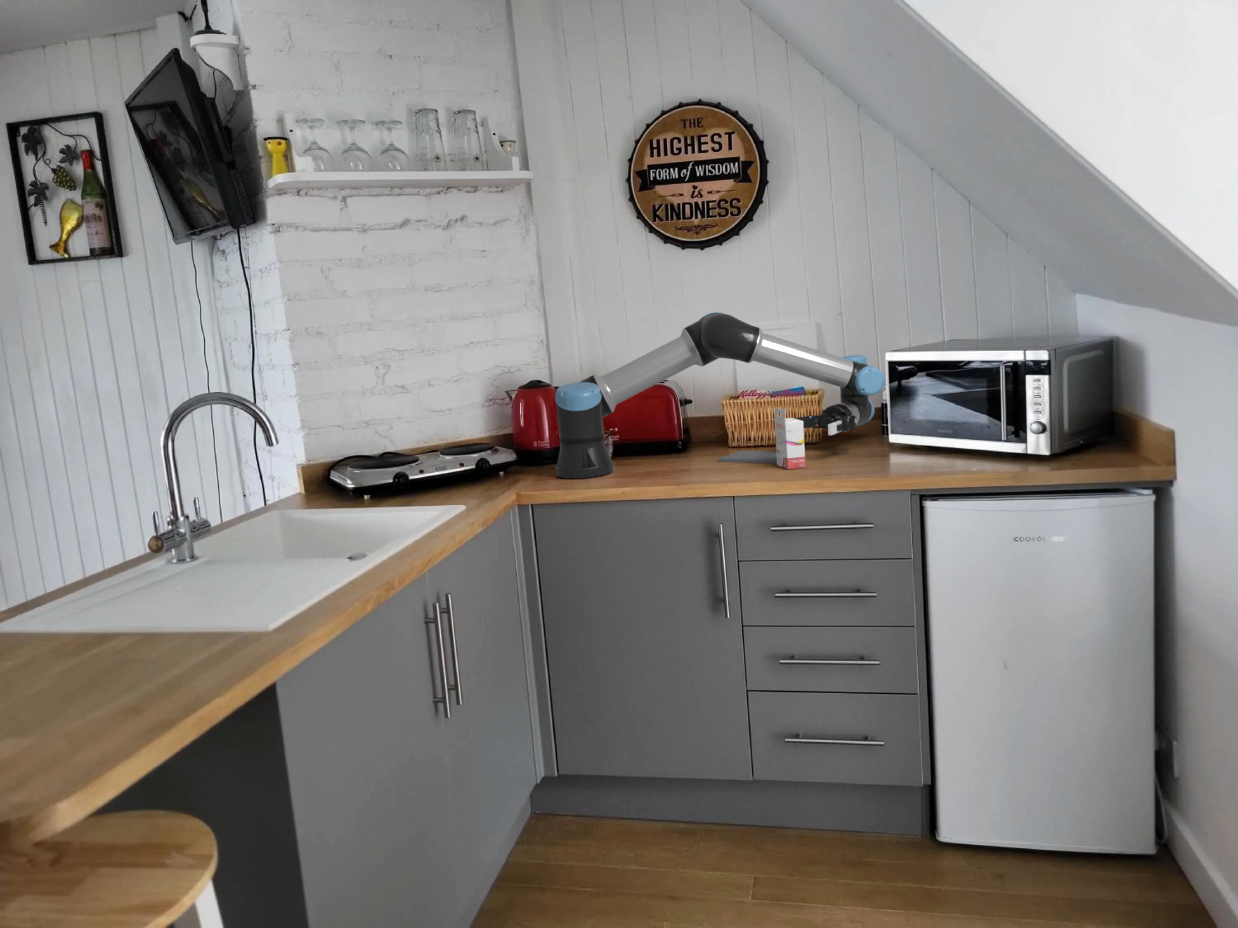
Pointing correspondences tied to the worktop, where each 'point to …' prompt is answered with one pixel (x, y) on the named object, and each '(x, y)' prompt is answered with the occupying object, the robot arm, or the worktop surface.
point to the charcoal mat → (751, 457)
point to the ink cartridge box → (789, 441)
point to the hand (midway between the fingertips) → (804, 429)
